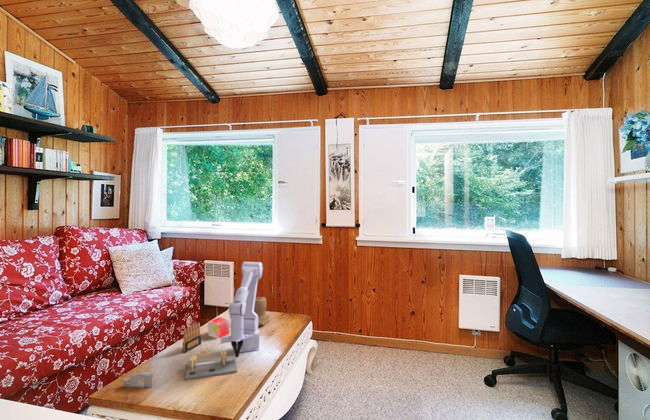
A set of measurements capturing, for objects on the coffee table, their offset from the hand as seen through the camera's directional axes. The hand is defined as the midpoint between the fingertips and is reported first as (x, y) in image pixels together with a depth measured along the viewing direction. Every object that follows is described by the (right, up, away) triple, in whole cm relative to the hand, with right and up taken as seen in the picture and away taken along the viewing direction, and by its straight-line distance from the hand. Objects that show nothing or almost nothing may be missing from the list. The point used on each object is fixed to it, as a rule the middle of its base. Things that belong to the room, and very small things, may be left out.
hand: (236, 356), depth 150 cm
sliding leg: (-5, -1, -4) cm, 7 cm away
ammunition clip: (-27, -2, +13) cm, 30 cm away
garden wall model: (-34, -3, -20) cm, 40 cm away
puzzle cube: (-19, -2, +30) cm, 35 cm away
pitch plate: (-10, -3, -5) cm, 12 cm away
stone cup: (0, -1, +49) cm, 49 cm away
